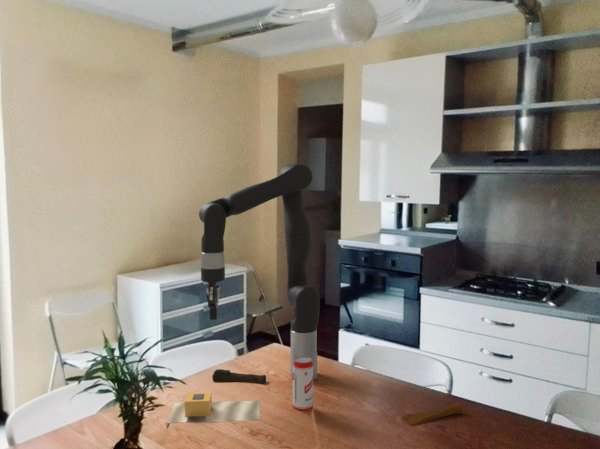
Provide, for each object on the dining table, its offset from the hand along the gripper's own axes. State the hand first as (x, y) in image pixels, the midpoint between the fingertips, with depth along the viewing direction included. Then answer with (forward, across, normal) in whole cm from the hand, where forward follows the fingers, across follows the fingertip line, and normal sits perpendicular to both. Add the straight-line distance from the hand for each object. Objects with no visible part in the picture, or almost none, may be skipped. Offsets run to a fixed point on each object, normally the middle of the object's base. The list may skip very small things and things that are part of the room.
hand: (213, 318), depth 152 cm
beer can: (+25, -13, -28) cm, 40 cm away
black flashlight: (+26, +7, -7) cm, 27 cm away
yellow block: (+24, -15, +3) cm, 28 cm away
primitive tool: (+26, -20, -66) cm, 73 cm away
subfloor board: (+25, -15, -2) cm, 29 cm away
